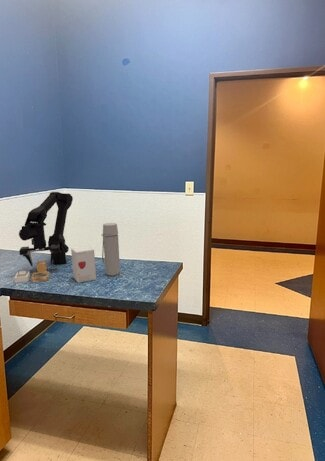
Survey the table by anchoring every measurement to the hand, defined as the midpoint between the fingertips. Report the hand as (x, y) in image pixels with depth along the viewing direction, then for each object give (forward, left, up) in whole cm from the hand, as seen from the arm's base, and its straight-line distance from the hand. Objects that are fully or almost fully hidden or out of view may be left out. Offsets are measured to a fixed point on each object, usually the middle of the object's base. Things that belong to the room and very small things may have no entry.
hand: (41, 265), depth 169 cm
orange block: (0, 0, -3) cm, 3 cm away
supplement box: (-20, +17, -4) cm, 27 cm away
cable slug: (+8, +8, -4) cm, 12 cm away
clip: (+8, +8, -3) cm, 12 cm away
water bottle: (-33, +14, -4) cm, 36 cm away
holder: (0, +11, -3) cm, 11 cm away
